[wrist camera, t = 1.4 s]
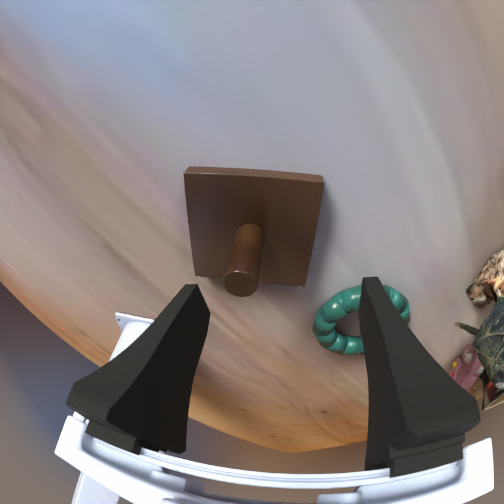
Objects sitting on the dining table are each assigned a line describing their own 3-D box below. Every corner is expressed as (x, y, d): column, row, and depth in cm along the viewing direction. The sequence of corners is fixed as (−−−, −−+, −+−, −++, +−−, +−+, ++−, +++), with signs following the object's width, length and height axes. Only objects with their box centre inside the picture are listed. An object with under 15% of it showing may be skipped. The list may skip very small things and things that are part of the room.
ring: (386, 343, 28) (388, 357, 26) (305, 341, 28) (305, 356, 27) (421, 283, 22) (428, 298, 20) (324, 275, 23) (326, 293, 21)
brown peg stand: (304, 276, 23) (305, 337, 18) (198, 266, 24) (177, 322, 19) (322, 175, 17) (335, 224, 13) (188, 166, 18) (151, 209, 13)
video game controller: (474, 323, 27) (472, 363, 22) (496, 332, 25) (497, 372, 20) (442, 362, 33) (434, 399, 28) (462, 370, 31) (457, 406, 26)
